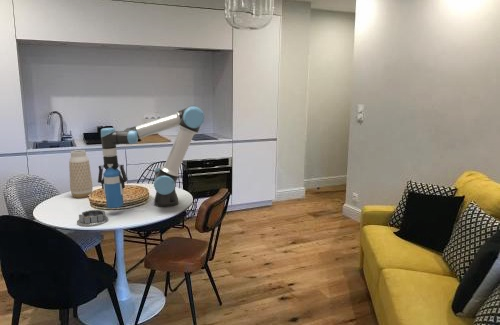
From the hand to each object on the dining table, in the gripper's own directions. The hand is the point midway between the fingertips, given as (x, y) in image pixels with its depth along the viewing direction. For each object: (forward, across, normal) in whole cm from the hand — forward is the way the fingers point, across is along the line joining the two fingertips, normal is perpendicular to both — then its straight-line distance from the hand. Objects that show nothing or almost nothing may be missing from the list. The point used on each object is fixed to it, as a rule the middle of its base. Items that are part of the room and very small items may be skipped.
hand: (114, 194), depth 229 cm
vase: (+11, +36, -37) cm, 53 cm away
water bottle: (+7, 0, 0) cm, 7 cm away
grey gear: (+11, +8, +14) cm, 20 cm away
